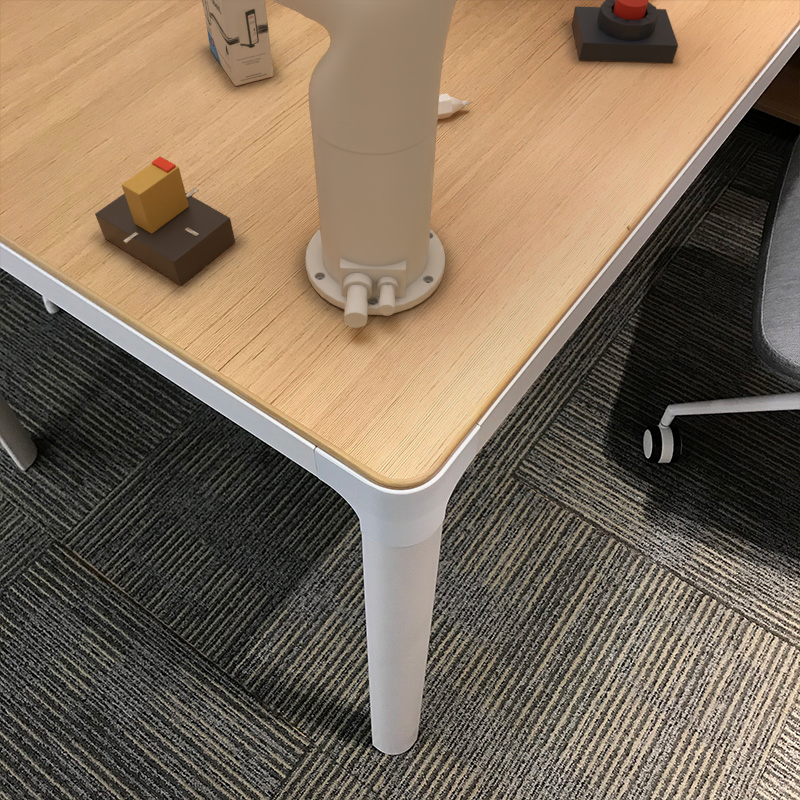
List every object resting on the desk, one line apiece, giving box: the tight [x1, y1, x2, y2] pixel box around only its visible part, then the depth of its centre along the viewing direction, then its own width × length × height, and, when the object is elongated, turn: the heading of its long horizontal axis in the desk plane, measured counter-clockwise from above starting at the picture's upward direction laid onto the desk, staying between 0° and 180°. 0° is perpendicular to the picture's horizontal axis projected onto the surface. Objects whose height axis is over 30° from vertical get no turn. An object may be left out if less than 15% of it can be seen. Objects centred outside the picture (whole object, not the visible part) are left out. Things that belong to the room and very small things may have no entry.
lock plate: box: [94, 187, 236, 287], centre depth 70 cm, size 10×9×3 cm
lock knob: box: [121, 156, 189, 234], centre depth 67 cm, size 5×2×5 cm, turn 144°
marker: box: [438, 92, 474, 120], centre depth 81 cm, size 3×2×16 cm
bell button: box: [613, 0, 650, 20], centre depth 88 cm, size 4×4×2 cm
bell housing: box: [571, 0, 679, 64], centre depth 90 cm, size 8×11×4 cm
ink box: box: [201, 0, 274, 87], centre depth 83 cm, size 9×5×12 cm, turn 27°
